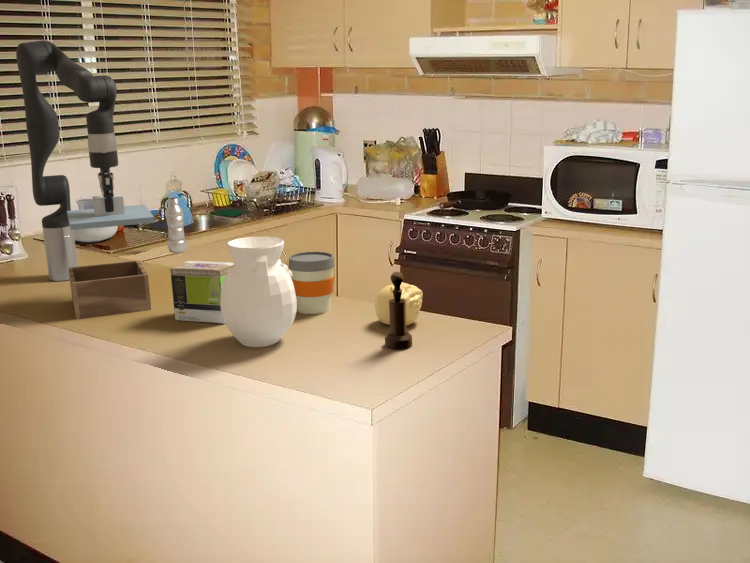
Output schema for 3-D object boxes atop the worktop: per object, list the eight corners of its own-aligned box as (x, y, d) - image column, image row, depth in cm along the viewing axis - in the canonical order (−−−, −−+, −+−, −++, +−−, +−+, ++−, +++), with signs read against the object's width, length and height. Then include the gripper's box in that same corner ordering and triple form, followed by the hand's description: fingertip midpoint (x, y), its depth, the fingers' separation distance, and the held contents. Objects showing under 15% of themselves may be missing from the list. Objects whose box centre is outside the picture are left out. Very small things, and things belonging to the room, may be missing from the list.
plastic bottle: (183, 254, 306) (178, 199, 301) (165, 254, 307) (160, 199, 302) (190, 251, 312) (185, 196, 307) (173, 250, 313) (168, 196, 308)
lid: (67, 216, 248) (65, 193, 247) (145, 209, 256) (143, 187, 254) (70, 230, 229) (67, 205, 227) (154, 222, 236) (152, 199, 234)
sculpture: (409, 332, 213) (408, 290, 210) (367, 326, 219) (366, 285, 216) (429, 320, 222) (428, 280, 220) (388, 314, 228) (388, 275, 226)
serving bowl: (110, 245, 326) (108, 227, 324) (56, 246, 326) (53, 229, 325) (126, 234, 346) (124, 217, 344) (75, 235, 346) (73, 219, 345)
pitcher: (305, 348, 203) (300, 245, 197) (228, 357, 198) (220, 252, 192) (290, 325, 221) (285, 231, 214) (219, 334, 216) (211, 237, 209)
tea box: (241, 314, 232) (237, 261, 229) (223, 325, 223) (219, 270, 219) (193, 310, 237) (188, 258, 233) (173, 320, 228) (168, 267, 224)
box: (72, 300, 250) (68, 267, 247) (142, 292, 257) (139, 260, 255) (76, 318, 232) (71, 283, 229) (151, 309, 239) (147, 274, 237)
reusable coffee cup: (305, 301, 243) (303, 249, 239) (344, 305, 237) (342, 253, 234) (282, 313, 232) (279, 259, 228) (322, 318, 227) (319, 263, 223)
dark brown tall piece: (383, 341, 207) (381, 269, 202) (410, 340, 207) (409, 268, 203) (386, 350, 200) (384, 276, 196) (413, 349, 201) (412, 274, 196)
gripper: (87, 147, 242) (93, 207, 247) (90, 153, 229) (97, 215, 234) (114, 146, 245) (120, 205, 249) (119, 151, 232) (125, 213, 236)
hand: (109, 210), depth 242 cm, fingers closed on lid, 4 cm apart
